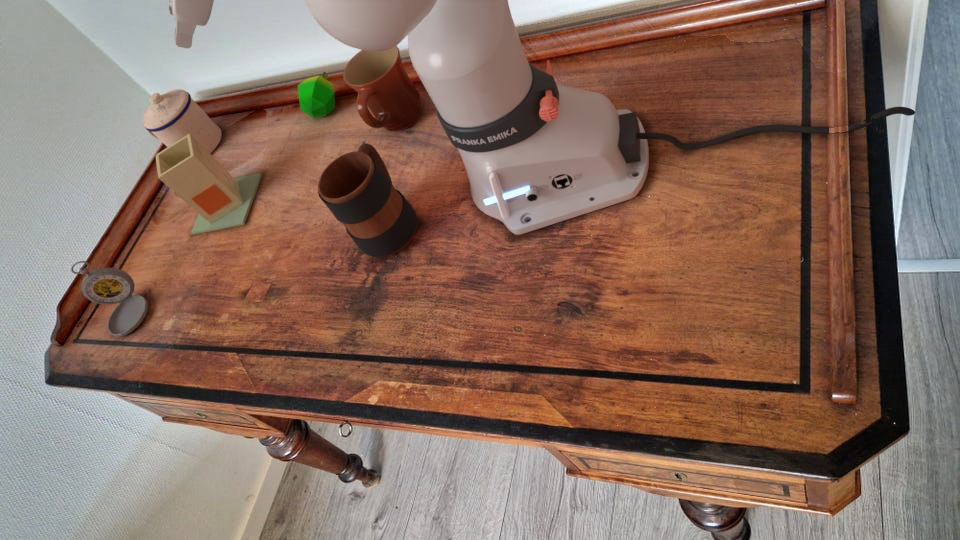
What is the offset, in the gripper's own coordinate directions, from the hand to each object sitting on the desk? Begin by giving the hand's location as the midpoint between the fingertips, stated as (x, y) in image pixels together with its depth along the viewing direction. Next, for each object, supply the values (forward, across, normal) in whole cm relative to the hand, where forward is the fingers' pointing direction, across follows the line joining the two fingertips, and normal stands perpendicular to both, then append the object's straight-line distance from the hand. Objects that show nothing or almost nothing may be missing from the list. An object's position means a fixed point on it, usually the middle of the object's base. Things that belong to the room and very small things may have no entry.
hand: (179, 29), depth 83 cm
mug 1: (+6, +6, +30) cm, 32 cm away
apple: (+12, -9, +24) cm, 28 cm away
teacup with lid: (+29, -20, +7) cm, 36 cm away
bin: (+26, 0, +9) cm, 28 cm away
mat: (+27, 0, +9) cm, 28 cm away
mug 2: (+11, +24, +25) cm, 36 cm away
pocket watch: (+40, +10, -4) cm, 41 cm away
